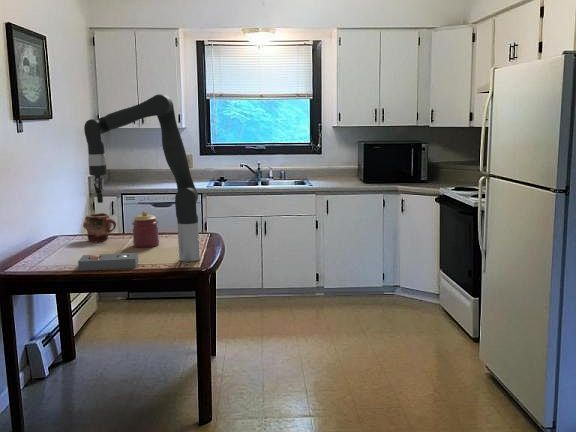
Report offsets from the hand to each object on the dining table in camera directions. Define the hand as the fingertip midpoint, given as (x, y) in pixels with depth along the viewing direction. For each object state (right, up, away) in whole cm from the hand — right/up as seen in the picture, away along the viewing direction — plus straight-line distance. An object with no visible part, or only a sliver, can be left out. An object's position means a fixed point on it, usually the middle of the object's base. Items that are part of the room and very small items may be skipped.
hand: (100, 202), depth 279 cm
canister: (+13, -21, +35) cm, 43 cm away
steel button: (+12, -27, -5) cm, 30 cm away
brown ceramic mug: (-15, -19, +49) cm, 55 cm away
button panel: (+6, -28, -6) cm, 29 cm away
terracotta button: (0, -27, -7) cm, 27 cm away
